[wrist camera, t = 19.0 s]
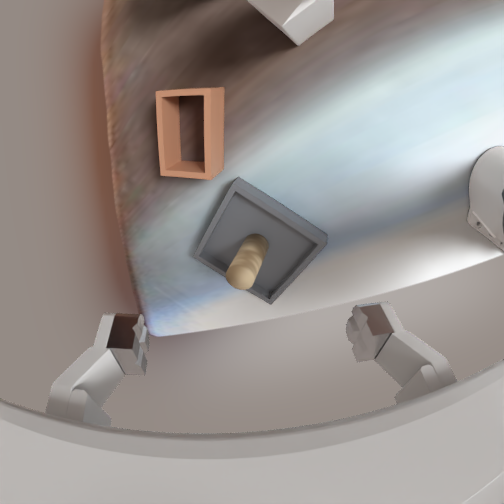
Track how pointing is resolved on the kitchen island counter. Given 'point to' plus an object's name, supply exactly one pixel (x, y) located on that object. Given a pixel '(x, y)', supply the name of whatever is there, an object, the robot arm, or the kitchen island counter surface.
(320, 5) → the milk carton
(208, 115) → the terracotta planter box
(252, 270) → the birch peg
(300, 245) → the charcoal tray
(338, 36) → the kitchen island counter surface
